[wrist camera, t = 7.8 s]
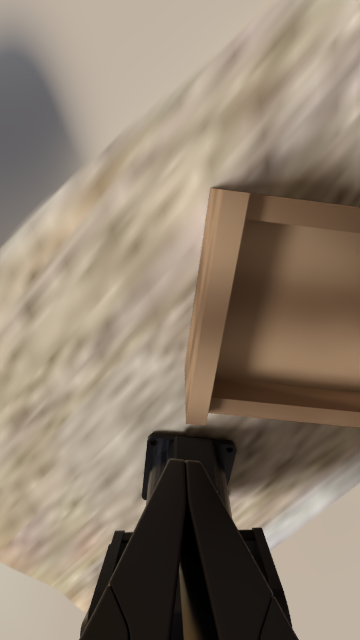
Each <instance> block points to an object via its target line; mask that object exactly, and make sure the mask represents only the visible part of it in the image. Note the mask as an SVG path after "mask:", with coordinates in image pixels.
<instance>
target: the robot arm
mask: <svg viewBox="0 0 360 640" xmlns="http://www.w3.org/2000/svg"><path fill="white" fill-rule="evenodd" d="M153 440H155V442H154V441H153ZM228 447H231V448H228ZM235 454H236V445H235V443H234V442H233V441H229V440H218V439H207V438H197V437H186V436H175V435H165V434H151V435H149V436H148V441H147V450H146V460H145V470H144V480H143V489H142V498H143V499H144V500H147V501H146V507H145V509H144V511H143V513H142V515H141V518H140V520H139V522H138V524H137V526H136V528H135V530H134V532H125V531H115V533H114V536H113V539H112V543H111V544H109V546H108V550H107V553H106V556H105V559H104V563H103V566H102V569H101V572H100V575H99V579H98V582H97V585H96V588H95V592H94V595H93V598H92V601H91V605H90V608H89V610H88V612H87V614H86V616H85V618H84V620H83V623H82V626H81V633H80V639H79V640H299V639H298V638H297V636H296V634H295V633H294V631H293V629H292V624H291V619H290V614H289V609H288V605H287V601H286V598H285V595H284V591H283V588H282V585H281V582H280V579H279V576H278V574H277V571H276V568H275V565H274V562H273V559H272V556H271V553H270V550H269V547H268V545H267V542H266V539H265V536H264V533H263V530H262V528H252V530H238V529H237V527H236V525H235V524H234V522H233V520H232V514H231V508H230V501H229V495H228V488H227V486H228V482H229V478H230V474H231V470H232V466H233V462H234V458H235Z"/></svg>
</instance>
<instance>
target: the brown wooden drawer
mask: <svg viewBox="0 0 360 640" xmlns="http://www.w3.org/2000/svg"><path fill="white" fill-rule="evenodd" d="M185 398H186V424H195V425H205V426H206V421H207V416H208V413H214V414H225V415H235V416H245V417H256V418H266V419H276V420H286V421H297V422H307V423H317V424H328V425H338V426H348V427H359V428H360V207H354V206H346V205H339V204H331V203H323V202H315V201H307V200H300V199H292V198H284V197H276V196H269V195H261V194H253V193H245V192H238V191H230V190H222V189H214V188H210V195H209V202H208V209H207V216H206V223H205V230H204V237H203V243H202V250H201V257H200V264H199V271H198V278H197V285H196V292H195V299H194V306H193V313H192V320H191V327H190V334H189V341H188V348H187V355H186V361H185Z"/></svg>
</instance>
